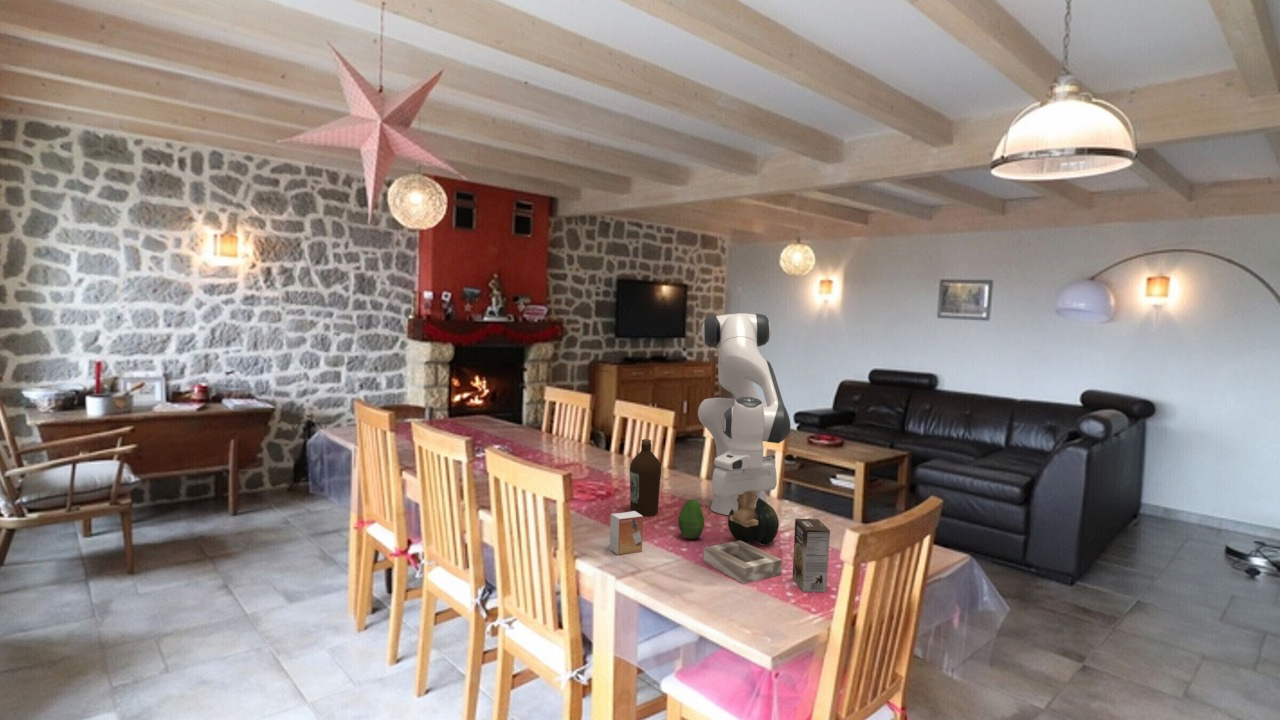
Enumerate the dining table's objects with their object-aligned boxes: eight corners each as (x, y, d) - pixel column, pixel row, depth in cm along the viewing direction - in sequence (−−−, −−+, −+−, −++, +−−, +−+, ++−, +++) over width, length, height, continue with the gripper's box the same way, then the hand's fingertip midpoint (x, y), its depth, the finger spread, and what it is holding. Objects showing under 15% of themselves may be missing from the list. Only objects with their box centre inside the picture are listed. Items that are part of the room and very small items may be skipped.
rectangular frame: (739, 553, 198) (740, 540, 198) (781, 574, 184) (782, 559, 183) (703, 561, 191) (703, 547, 191) (743, 583, 177) (744, 568, 176)
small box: (617, 555, 194) (618, 519, 193) (609, 549, 199) (610, 513, 198) (642, 551, 197) (643, 515, 196) (633, 545, 202) (635, 510, 201)
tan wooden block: (740, 517, 190) (742, 485, 190) (758, 524, 184) (759, 491, 184) (729, 519, 188) (730, 487, 187) (746, 527, 182) (748, 493, 182)
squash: (772, 537, 197) (778, 490, 205) (720, 531, 202) (728, 486, 211) (777, 557, 207) (783, 511, 216) (728, 551, 212) (736, 507, 221)
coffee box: (791, 577, 182) (794, 517, 180) (815, 577, 182) (818, 518, 181) (802, 592, 172) (805, 529, 171) (827, 592, 173) (830, 529, 172)
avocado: (705, 535, 213) (707, 497, 212) (701, 543, 205) (702, 504, 204) (680, 532, 215) (681, 494, 214) (674, 540, 208) (676, 501, 207)
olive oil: (652, 506, 241) (654, 436, 239) (664, 515, 231) (667, 442, 229) (623, 509, 237) (625, 437, 235) (635, 518, 227) (637, 443, 225)
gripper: (767, 452, 193) (764, 501, 194) (709, 459, 182) (707, 510, 183) (783, 457, 188) (780, 507, 189) (724, 464, 177) (722, 517, 178)
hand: (744, 509), depth 186 cm, fingers closed on tan wooden block, 4 cm apart
